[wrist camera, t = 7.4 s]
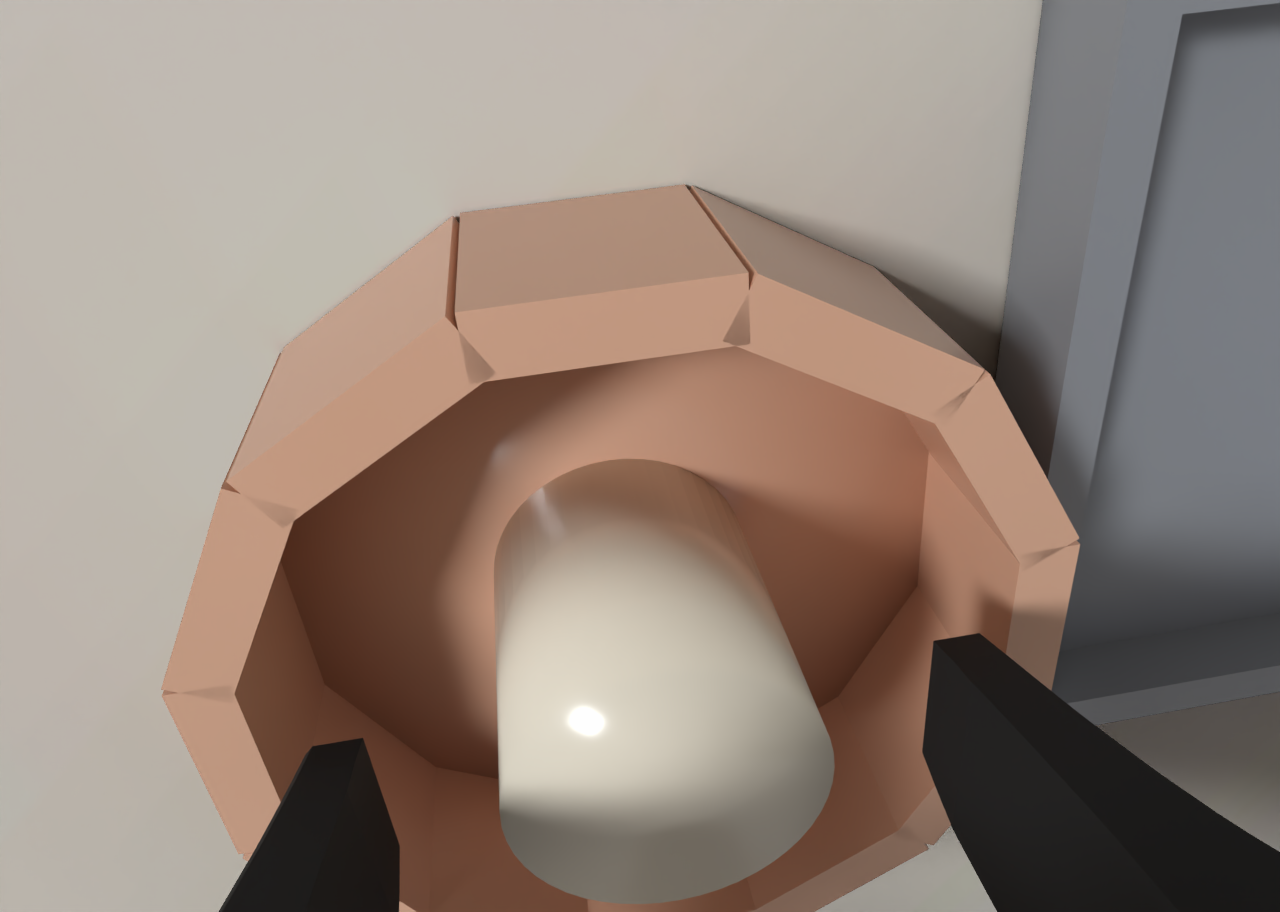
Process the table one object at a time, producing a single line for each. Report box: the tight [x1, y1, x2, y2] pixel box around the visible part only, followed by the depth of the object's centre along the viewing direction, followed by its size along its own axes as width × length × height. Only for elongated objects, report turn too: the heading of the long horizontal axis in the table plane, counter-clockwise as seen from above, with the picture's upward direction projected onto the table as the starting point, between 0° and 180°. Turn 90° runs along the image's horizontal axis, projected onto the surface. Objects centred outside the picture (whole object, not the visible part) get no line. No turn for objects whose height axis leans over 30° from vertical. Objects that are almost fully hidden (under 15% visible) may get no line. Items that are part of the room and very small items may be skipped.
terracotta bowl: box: [161, 185, 1080, 912], centre depth 14 cm, size 12×12×4 cm
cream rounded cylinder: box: [494, 459, 835, 904], centre depth 13 cm, size 4×4×4 cm
